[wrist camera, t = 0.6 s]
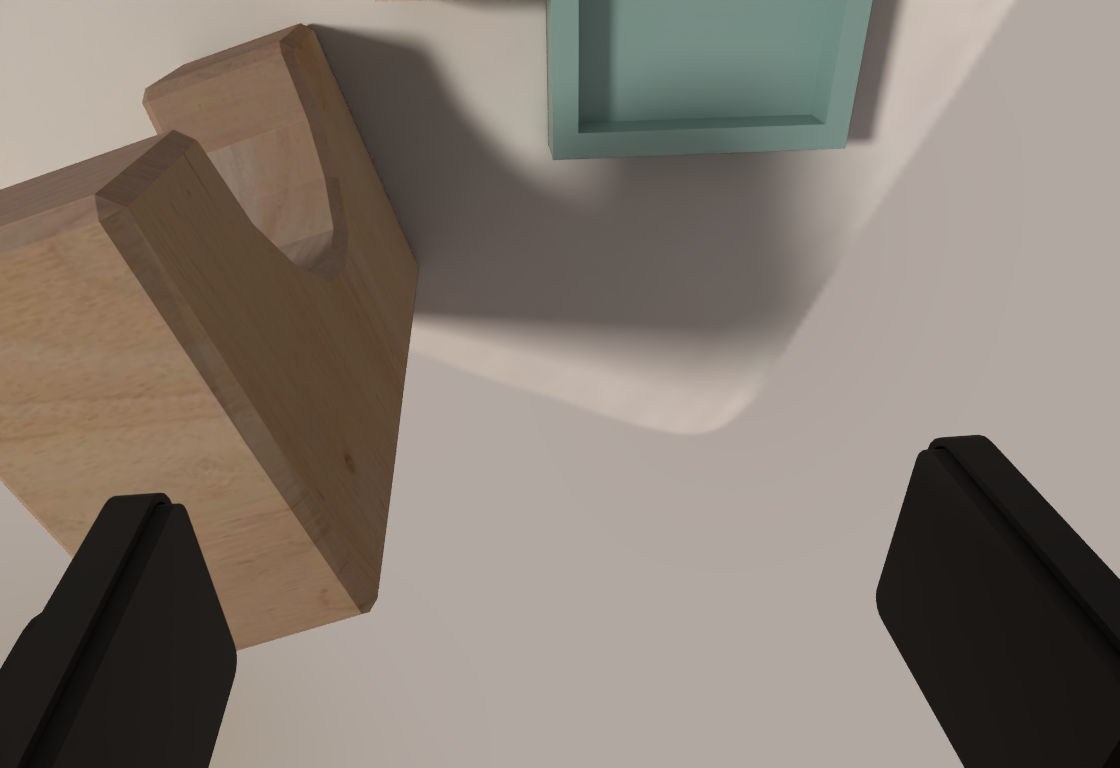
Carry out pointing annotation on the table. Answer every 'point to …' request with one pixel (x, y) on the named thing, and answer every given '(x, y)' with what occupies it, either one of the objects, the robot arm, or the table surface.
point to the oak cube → (394, 0)
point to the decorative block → (217, 334)
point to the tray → (701, 75)
